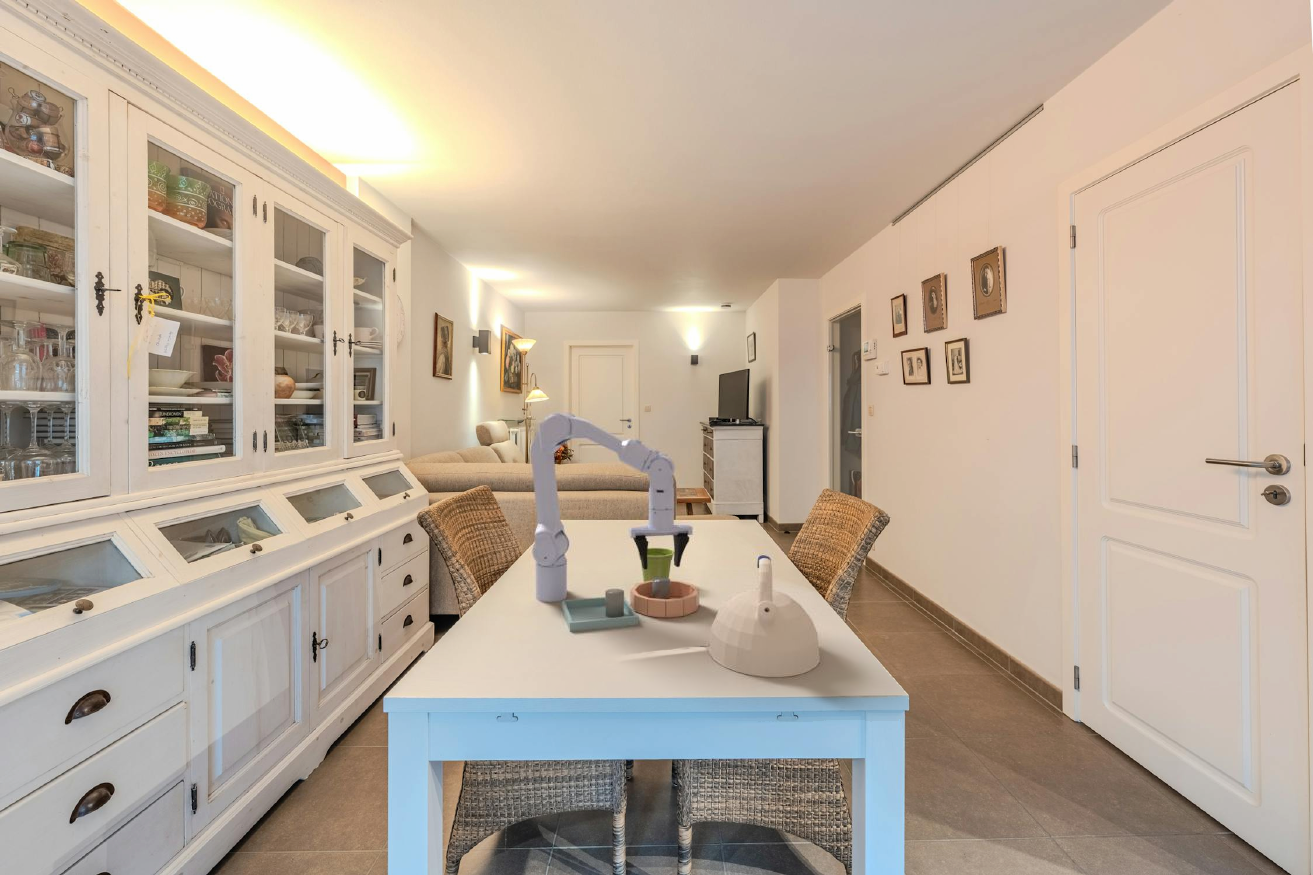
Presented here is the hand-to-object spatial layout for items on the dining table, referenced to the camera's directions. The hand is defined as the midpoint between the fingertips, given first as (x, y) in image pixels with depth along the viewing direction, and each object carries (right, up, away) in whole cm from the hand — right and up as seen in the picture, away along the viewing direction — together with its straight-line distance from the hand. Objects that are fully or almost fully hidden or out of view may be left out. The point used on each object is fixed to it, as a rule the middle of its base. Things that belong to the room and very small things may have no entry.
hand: (660, 566), depth 131 cm
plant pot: (-1, -8, +16) cm, 18 cm away
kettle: (+19, -11, -25) cm, 33 cm away
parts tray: (-13, -9, -9) cm, 19 cm away
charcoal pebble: (0, -8, 0) cm, 8 cm away
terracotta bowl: (+1, -9, -2) cm, 9 cm away
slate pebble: (-10, -8, -8) cm, 15 cm away
